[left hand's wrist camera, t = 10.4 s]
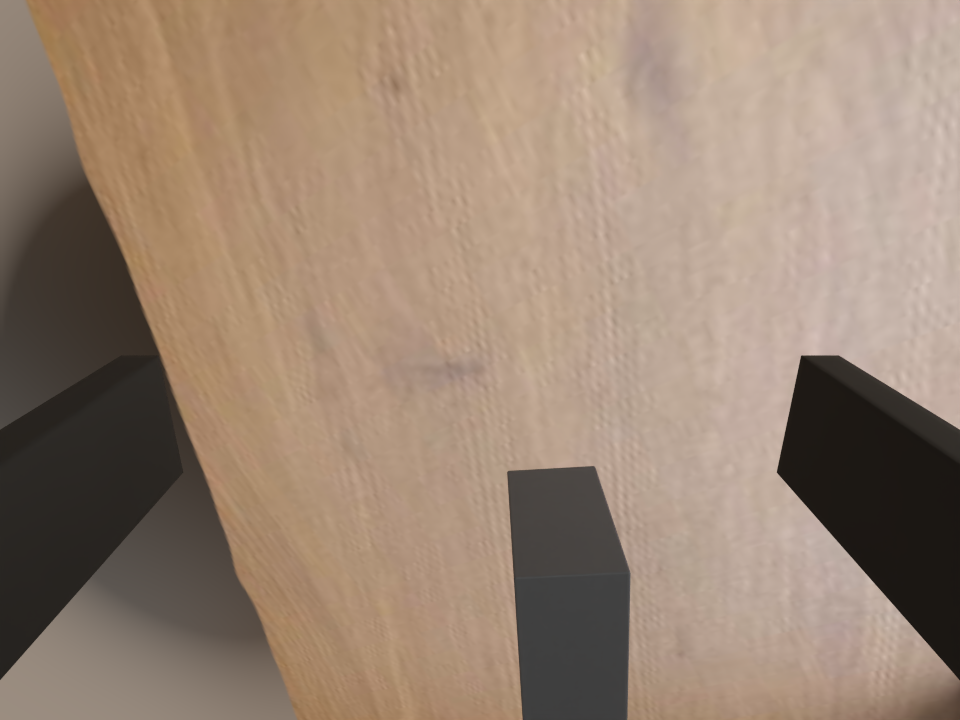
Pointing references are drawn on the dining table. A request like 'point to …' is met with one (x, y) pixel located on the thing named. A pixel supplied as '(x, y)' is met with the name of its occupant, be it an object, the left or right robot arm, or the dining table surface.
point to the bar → (569, 596)
